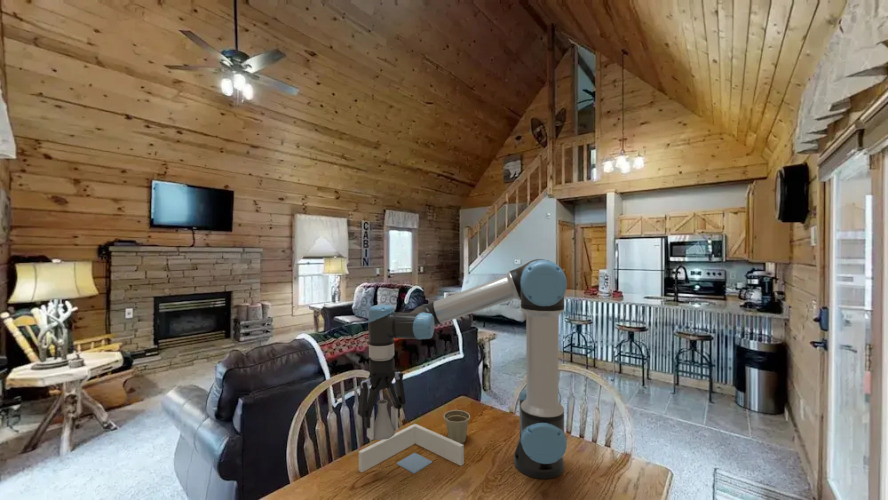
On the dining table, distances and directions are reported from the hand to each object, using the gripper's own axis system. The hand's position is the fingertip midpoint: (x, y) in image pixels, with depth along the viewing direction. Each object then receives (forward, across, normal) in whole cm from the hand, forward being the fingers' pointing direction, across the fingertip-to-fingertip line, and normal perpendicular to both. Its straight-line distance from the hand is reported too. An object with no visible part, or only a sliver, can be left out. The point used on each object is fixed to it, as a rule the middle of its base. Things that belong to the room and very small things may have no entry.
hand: (382, 433), depth 113 cm
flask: (+1, 0, 0) cm, 1 cm away
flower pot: (+13, -31, -2) cm, 34 cm away
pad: (+13, -11, 0) cm, 17 cm away
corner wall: (+13, -9, +2) cm, 16 cm away
